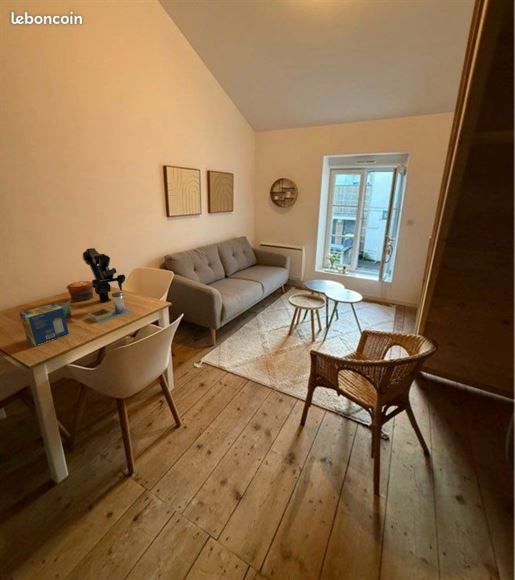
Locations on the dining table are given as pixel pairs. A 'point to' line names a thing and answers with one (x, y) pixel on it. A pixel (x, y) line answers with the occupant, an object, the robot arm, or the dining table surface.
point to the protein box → (44, 323)
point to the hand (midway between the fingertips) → (113, 292)
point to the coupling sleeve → (118, 302)
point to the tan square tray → (97, 318)
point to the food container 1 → (65, 308)
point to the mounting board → (114, 315)
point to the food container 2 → (80, 290)
